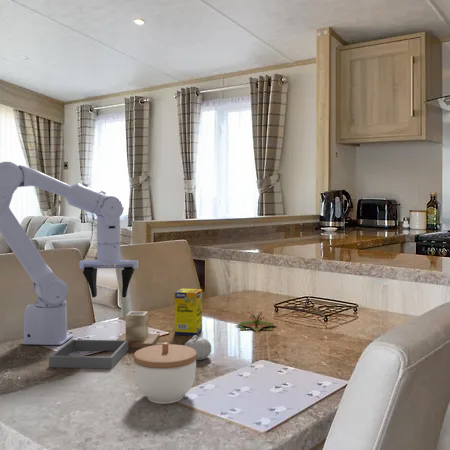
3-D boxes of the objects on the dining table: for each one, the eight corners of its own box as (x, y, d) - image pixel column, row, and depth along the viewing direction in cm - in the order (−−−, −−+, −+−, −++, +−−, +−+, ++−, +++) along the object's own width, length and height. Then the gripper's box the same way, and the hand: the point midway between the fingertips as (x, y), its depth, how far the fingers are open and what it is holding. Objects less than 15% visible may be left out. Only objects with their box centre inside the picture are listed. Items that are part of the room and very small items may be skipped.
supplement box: (197, 336, 129) (196, 292, 129) (174, 335, 130) (173, 291, 130) (202, 330, 135) (202, 288, 135) (180, 329, 136) (180, 288, 136)
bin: (49, 367, 105) (49, 356, 105) (72, 349, 118) (72, 339, 118) (112, 368, 104) (112, 357, 104) (128, 350, 117) (128, 340, 117)
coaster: (113, 347, 119) (113, 343, 119) (123, 337, 128) (123, 333, 128) (152, 347, 119) (152, 343, 119) (159, 337, 128) (159, 333, 128)
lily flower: (277, 323, 145) (277, 307, 144) (280, 334, 133) (280, 317, 132) (234, 323, 145) (234, 306, 145) (233, 334, 133) (233, 316, 133)
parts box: (125, 340, 121) (125, 314, 121) (130, 335, 126) (130, 310, 125) (144, 340, 121) (144, 314, 121) (148, 336, 125) (148, 311, 125)
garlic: (190, 364, 107) (190, 339, 106) (180, 357, 111) (180, 333, 111) (216, 360, 109) (216, 336, 109) (205, 353, 114) (205, 330, 114)
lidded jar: (136, 387, 94) (136, 335, 93) (196, 385, 94) (195, 334, 94) (131, 410, 83) (130, 353, 82) (197, 408, 84) (197, 351, 83)
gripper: (75, 244, 127) (76, 299, 128) (134, 244, 127) (135, 299, 128) (83, 242, 134) (84, 294, 135) (139, 242, 134) (139, 294, 135)
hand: (109, 296), depth 132 cm, fingers open, 7 cm apart
